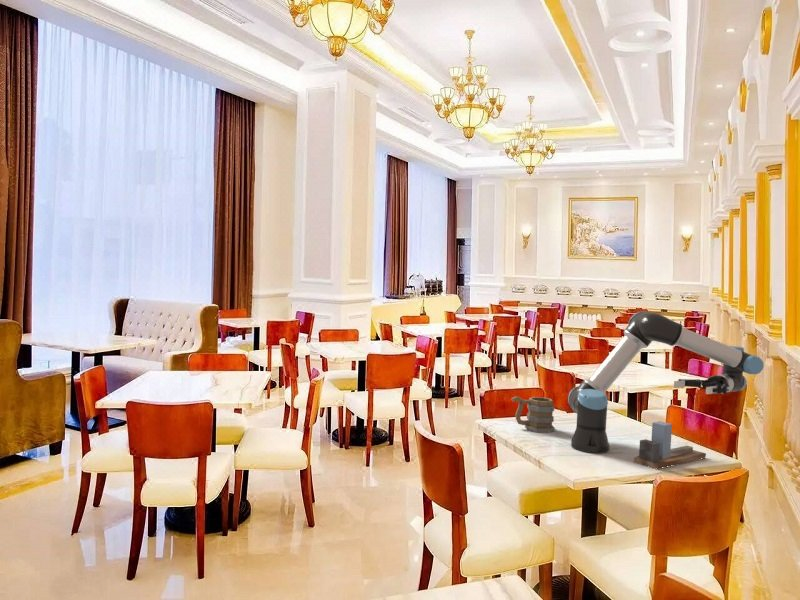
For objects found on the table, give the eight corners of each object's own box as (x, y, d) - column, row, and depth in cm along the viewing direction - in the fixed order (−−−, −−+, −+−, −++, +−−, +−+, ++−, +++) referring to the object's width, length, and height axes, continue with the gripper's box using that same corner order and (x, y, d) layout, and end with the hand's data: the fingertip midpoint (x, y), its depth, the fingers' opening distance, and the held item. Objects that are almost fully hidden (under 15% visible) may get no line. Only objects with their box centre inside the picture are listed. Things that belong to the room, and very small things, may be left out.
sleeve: (650, 455, 238) (652, 422, 237) (657, 454, 241) (659, 421, 240) (662, 459, 234) (664, 425, 233) (670, 457, 236) (672, 424, 236)
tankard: (550, 426, 289) (551, 394, 288) (556, 433, 276) (558, 400, 275) (507, 424, 289) (509, 393, 289) (512, 431, 277) (513, 398, 276)
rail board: (634, 462, 236) (635, 439, 236) (682, 451, 254) (683, 430, 254) (657, 469, 228) (658, 445, 228) (705, 458, 246) (707, 436, 245)
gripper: (749, 398, 247) (720, 403, 236) (690, 387, 268) (661, 391, 256) (750, 380, 247) (721, 383, 235) (692, 370, 268) (662, 373, 256)
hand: (690, 387), depth 246 cm, fingers open, 13 cm apart
